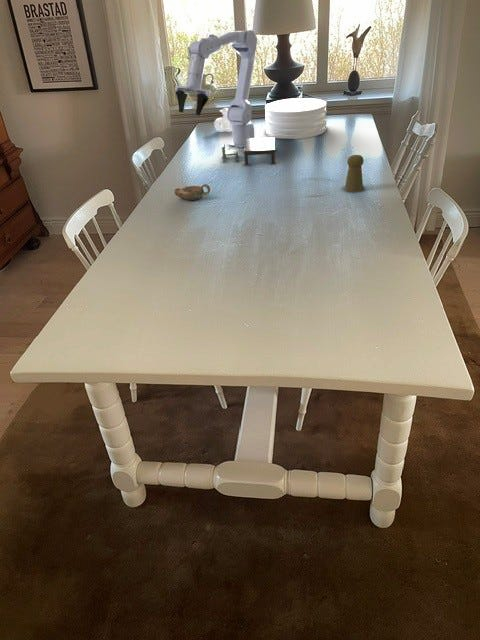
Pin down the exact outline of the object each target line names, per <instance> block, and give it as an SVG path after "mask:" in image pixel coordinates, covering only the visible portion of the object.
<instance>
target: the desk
mask: <svg viewBox="0 0 480 640" xmlns="http://www.w3.org/2000/svg"><path fill="white" fill-rule="evenodd" d="M275 142H276V138H275V137H271V136H269V137H255V138H252V139H246V141H245V146H244V147H243V148H244V149H243V157H244V158H243V159H244V166H249V165H250V164H249V162H250V161H249V156H255V155H256V156H258V155H270V163H271V165H275V164H276V155H275V152H276V145H275Z"/></svg>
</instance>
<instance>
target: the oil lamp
mask: <svg viewBox="0 0 480 640" xmlns="http://www.w3.org/2000/svg"><path fill="white" fill-rule="evenodd" d="M204 188H206V189H207V191H204ZM173 192H174V195H175V196H176V197H178V198H181V199H184V200H187V201H196V200H198V199H200V198H202V196H203V195H205V196H206V195H208V194H210V192H211V187H210V185H209V184H207V183H204V184H202V185H201V186H200V185H189V186H187V185H186V186H184V187H180V188H179V187H177V188H175V189H174V190H173Z"/></svg>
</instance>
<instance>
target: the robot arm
mask: <svg viewBox="0 0 480 640" xmlns="http://www.w3.org/2000/svg"><path fill="white" fill-rule="evenodd" d="M257 44H258V38H257V35H256V32H255V31H254V30H252V29H250V30H231V31H228V32H226V33H224V34H222V35H220V36H218V35H215V34H212V33H211V34H209V35H208V36H207V37H206V38H204V37H202V38H200V40H199V41H198V40H194V41H192V42H191V43H190V44H189V46H188V48H187V50H188V51H187V52H188V55H189V56H188V57H189V58H188V60H189V63H188V71H187V77H186V84H185V85H177V84H176V85H175V89H174V91H175V95H176V99H177V105H178V112H179V113H182V114H183V113H184V110H185V104H186V101H187V98H188V95H189V94H191V95H192V94H193V95H196V98H197V100H196V101H197V102H196V110H195V115H196V116H201V114H202V111H203V110H204V107H205V105H206V103H207V102H208V101H209V99H210V97H211V93H212V91H211V90H209V89H204V88H202V84H203V79H204V72H205V67H206V59H209V58H210V56H211V55H213V54H215V53H218V52H220V51H221V49H222V47H224V46H227V45H230V46H231V47H232V48H233V49H234V50H235V52H236V53H237V54H238V55H239V57H240V58H241V59H240V65H239V71H238V78H237V85H236V90H235V97H234V99H232V100H231V101H230V102H229V107H228V108H229V109H228V111H227V118H228V120H229V121H230V124H232V131H231V133H232V142H231V143H229V144H228V145H229V146H232V147H237V148H244V147H245V141H246V139H252V138H256V136H255V126H254V123H253V122H251V121H252V117H253V113H252V108H253V106H252V105H251V103H250V102H249V101H248V100H249V95H250V89H251V82H252V77H253V71H254V65H255V58H256V51H257Z"/></svg>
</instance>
